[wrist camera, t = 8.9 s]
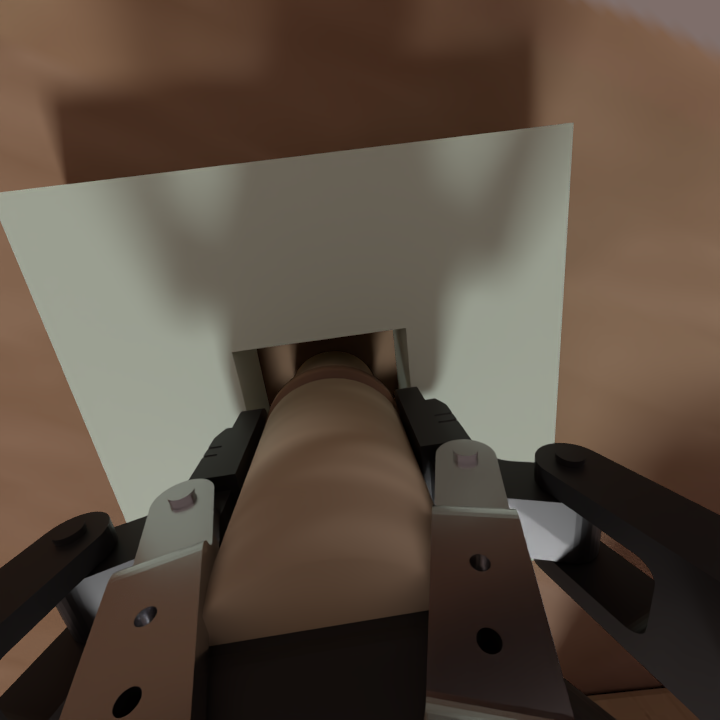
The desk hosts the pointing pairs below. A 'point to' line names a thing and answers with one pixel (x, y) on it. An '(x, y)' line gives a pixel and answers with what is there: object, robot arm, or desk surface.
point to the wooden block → (644, 705)
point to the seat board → (302, 288)
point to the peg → (324, 513)
